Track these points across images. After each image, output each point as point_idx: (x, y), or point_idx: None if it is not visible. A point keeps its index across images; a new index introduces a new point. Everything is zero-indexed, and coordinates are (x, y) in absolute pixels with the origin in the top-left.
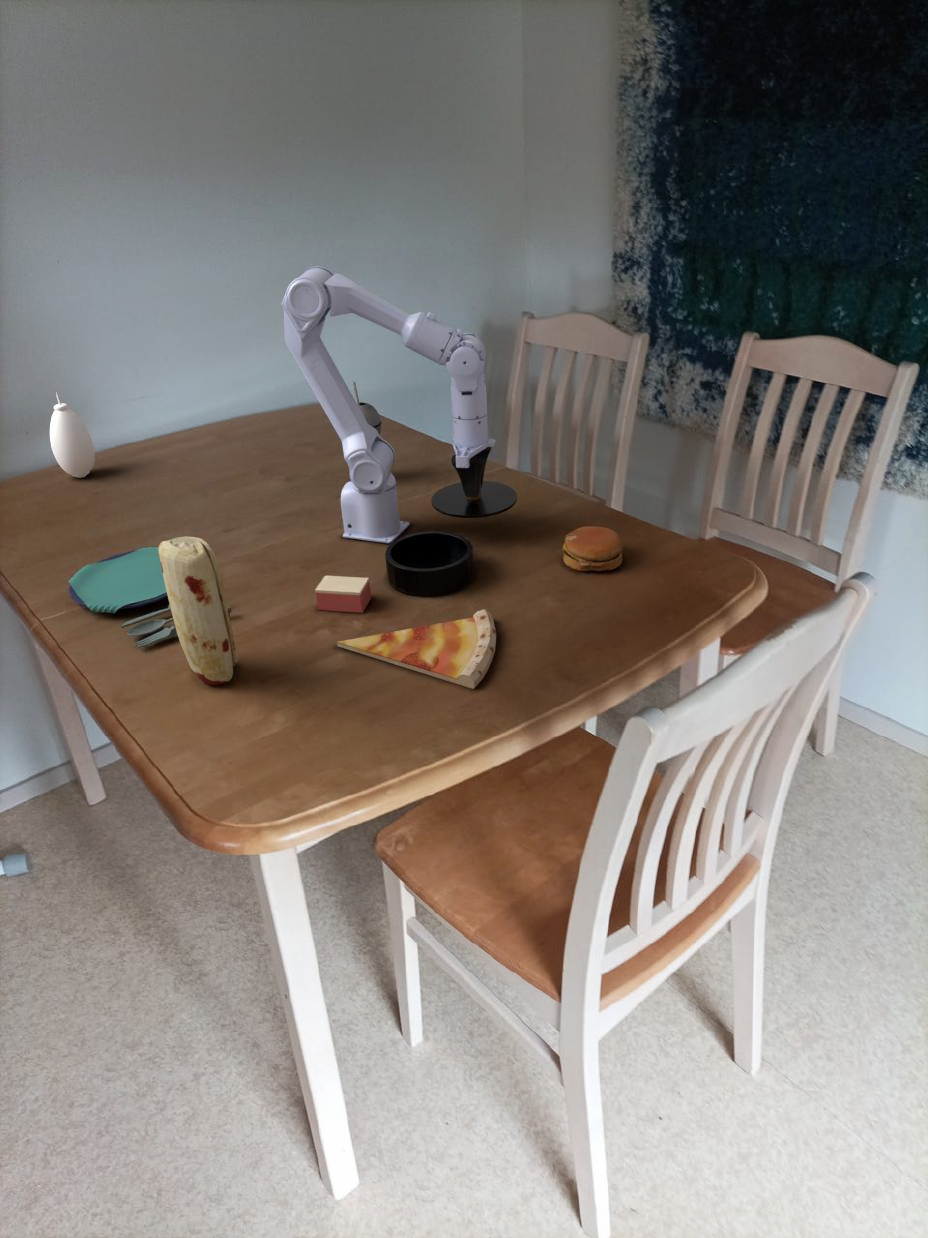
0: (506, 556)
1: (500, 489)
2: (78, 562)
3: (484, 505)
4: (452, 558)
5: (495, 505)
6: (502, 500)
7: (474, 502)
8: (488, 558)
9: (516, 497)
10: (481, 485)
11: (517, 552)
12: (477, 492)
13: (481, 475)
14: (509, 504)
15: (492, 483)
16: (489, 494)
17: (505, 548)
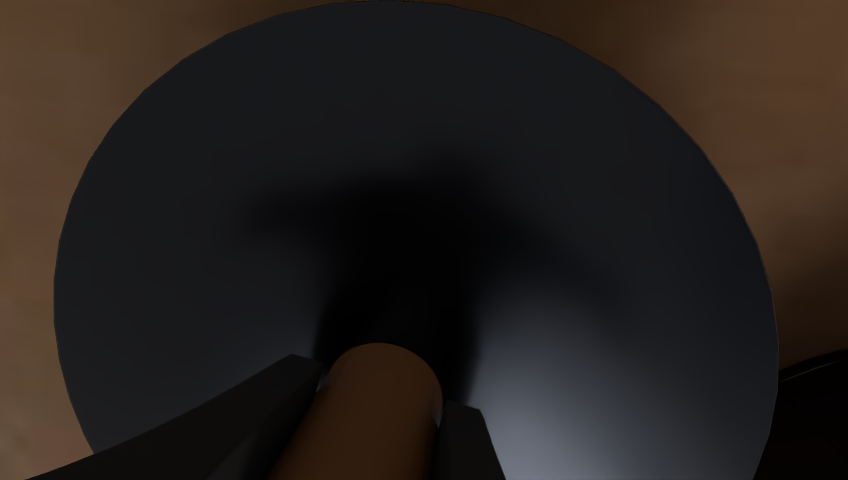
0: (789, 145)
1: (235, 159)
2: None
3: (575, 336)
4: None
5: (599, 242)
6: (500, 165)
7: (493, 405)
8: (778, 248)
9: (449, 10)
10: (311, 378)
11: (756, 72)
12: (488, 437)
13: (253, 445)
14: (614, 102)
15: (106, 217)
16: (339, 268)
17: None
